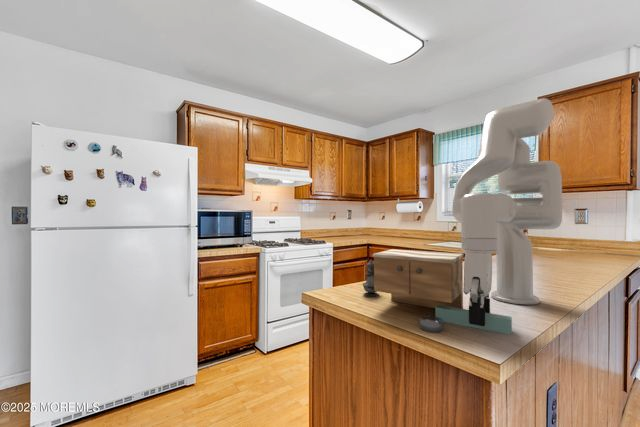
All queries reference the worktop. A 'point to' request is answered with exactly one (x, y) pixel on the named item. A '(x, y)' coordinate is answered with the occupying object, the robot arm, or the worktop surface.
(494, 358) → the worktop surface
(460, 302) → the cabinet
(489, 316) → the teal blade
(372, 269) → the grey statuette
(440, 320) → the steel token
